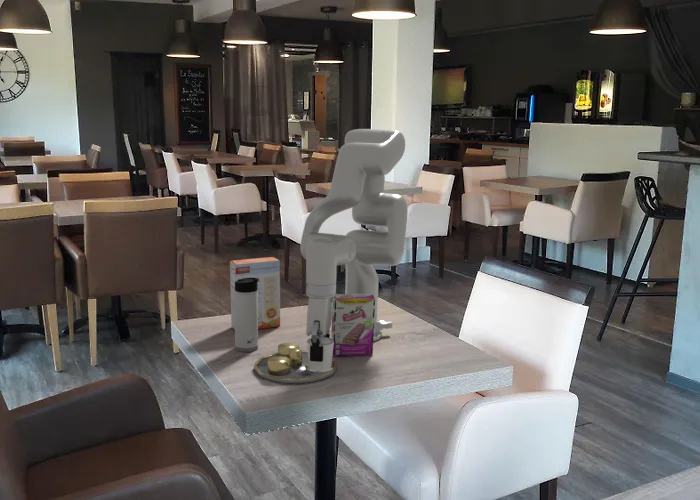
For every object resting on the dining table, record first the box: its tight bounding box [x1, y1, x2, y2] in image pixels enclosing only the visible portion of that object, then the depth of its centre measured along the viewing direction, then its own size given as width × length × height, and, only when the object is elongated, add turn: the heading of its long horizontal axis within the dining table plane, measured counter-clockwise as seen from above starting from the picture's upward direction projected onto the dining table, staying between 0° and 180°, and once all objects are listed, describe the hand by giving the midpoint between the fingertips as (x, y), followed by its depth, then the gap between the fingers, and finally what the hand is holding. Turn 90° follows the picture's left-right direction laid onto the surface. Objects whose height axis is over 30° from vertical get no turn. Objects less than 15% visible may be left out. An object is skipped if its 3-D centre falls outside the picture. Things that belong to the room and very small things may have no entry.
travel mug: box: [234, 278, 259, 353], centre depth 190 cm, size 6×7×20 cm
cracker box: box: [229, 256, 281, 331], centre depth 209 cm, size 14×6×21 cm, turn 117°
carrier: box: [253, 342, 338, 386], centre depth 177 cm, size 21×21×5 cm
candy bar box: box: [330, 293, 375, 357], centre depth 188 cm, size 11×5×16 cm, turn 100°
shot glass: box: [306, 337, 334, 371], centre depth 175 cm, size 7×7×7 cm
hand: (320, 354), depth 176 cm, fingers open, 9 cm apart
